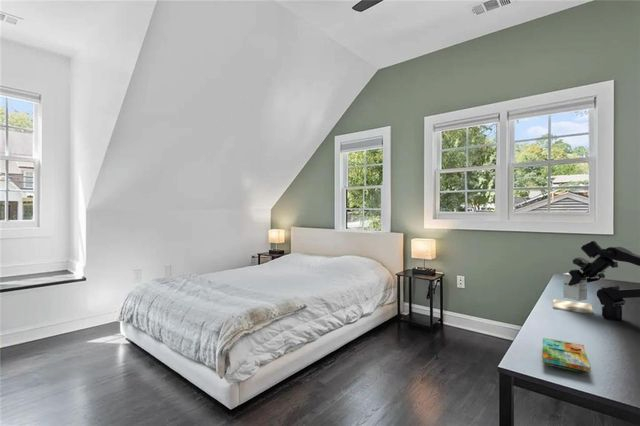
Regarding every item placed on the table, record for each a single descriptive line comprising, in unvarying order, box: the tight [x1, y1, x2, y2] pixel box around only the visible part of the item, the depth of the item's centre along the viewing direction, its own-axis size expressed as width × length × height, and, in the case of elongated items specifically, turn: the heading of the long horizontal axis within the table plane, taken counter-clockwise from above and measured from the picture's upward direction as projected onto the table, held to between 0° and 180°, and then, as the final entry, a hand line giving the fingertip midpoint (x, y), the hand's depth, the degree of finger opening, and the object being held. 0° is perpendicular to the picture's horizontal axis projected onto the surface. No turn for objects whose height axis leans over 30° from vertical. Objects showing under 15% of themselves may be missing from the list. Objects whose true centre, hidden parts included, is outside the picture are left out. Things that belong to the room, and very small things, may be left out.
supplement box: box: [562, 272, 588, 302], centre depth 167 cm, size 7×7×13 cm
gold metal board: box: [552, 299, 595, 315], centre depth 170 cm, size 16×18×1 cm
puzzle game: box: [542, 337, 591, 374], centre depth 109 cm, size 12×5×20 cm
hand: (574, 284), depth 167 cm, fingers closed on supplement box, 7 cm apart
